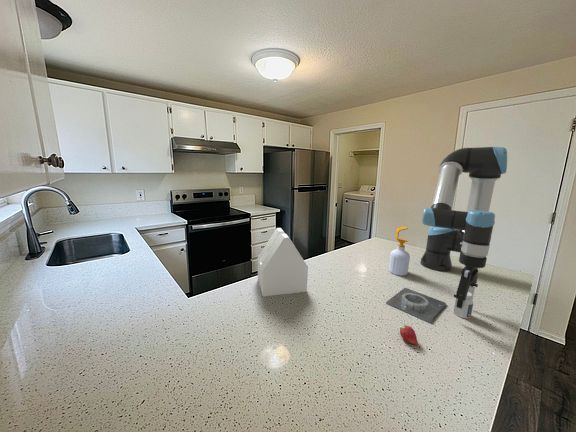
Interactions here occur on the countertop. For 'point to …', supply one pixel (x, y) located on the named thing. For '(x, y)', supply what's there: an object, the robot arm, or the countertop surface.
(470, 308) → the pill bottle
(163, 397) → the countertop surface
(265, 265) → the white toy house
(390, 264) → the soap bottle
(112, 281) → the countertop surface
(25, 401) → the countertop surface
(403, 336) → the fruit
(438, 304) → the duct plate
